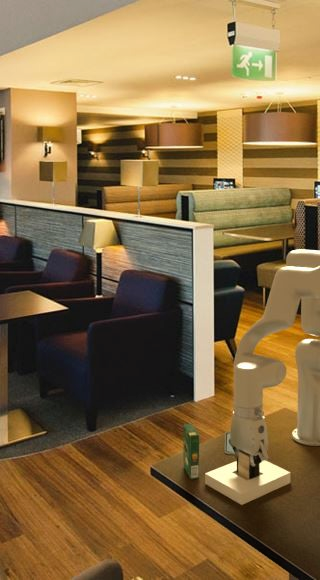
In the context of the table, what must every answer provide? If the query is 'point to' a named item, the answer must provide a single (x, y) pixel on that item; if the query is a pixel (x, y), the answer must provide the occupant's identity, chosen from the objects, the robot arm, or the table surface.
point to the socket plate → (245, 490)
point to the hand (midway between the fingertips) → (247, 473)
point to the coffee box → (191, 451)
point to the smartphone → (228, 445)
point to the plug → (244, 465)
